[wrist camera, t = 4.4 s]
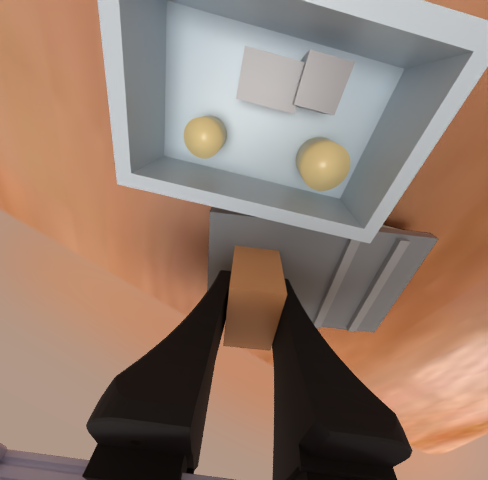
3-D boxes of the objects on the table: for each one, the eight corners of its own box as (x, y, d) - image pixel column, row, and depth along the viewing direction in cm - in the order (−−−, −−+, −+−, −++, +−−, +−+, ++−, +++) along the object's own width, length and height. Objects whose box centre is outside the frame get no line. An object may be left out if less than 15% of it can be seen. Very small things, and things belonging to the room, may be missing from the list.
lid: (430, 232, 11) (501, 282, 8) (370, 325, 15) (401, 382, 12) (211, 206, 11) (194, 247, 8) (208, 307, 15) (195, 362, 12)
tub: (419, 56, 9) (512, 28, 6) (341, 206, 13) (369, 243, 9) (157, -20, 8) (86, -104, 5) (157, 161, 12) (117, 184, 9)
